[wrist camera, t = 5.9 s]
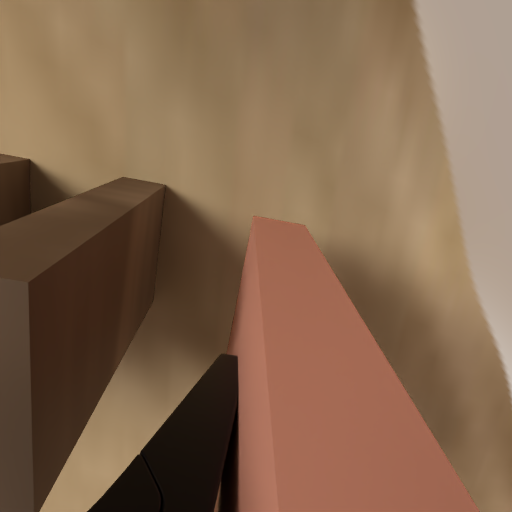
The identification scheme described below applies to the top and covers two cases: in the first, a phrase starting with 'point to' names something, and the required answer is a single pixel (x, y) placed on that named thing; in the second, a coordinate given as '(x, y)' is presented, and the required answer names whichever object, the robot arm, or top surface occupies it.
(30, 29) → the top surface
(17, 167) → the tile
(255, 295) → the tile
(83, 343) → the tile
